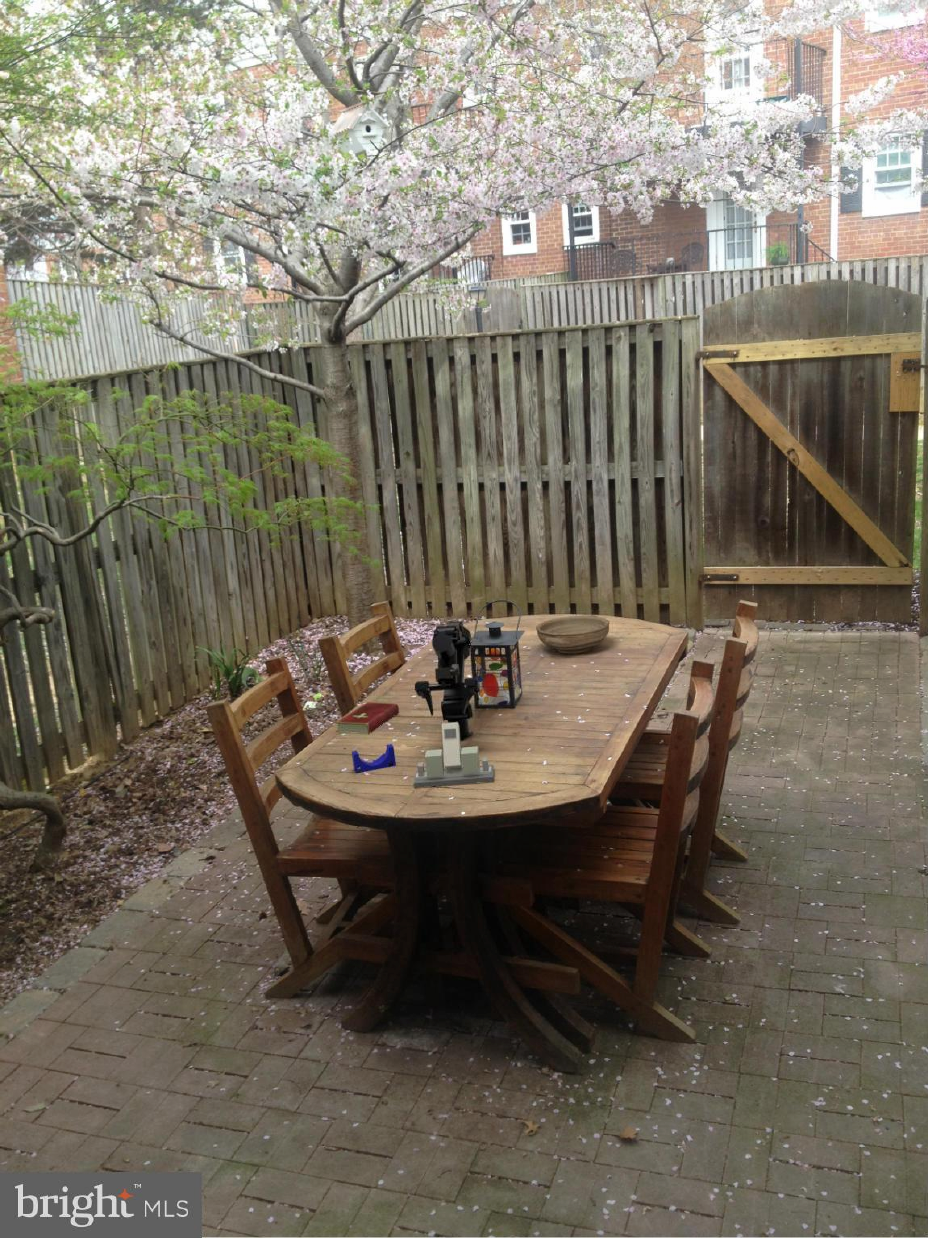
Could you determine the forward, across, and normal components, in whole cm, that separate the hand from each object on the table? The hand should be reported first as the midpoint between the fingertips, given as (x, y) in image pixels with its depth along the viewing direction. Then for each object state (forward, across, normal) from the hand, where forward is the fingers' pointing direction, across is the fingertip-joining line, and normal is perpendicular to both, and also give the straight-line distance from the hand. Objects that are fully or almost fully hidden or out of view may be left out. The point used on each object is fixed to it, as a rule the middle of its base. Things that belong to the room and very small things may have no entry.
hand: (447, 714), depth 311 cm
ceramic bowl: (-59, +35, +98) cm, 119 cm away
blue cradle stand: (+13, -23, +6) cm, 27 cm away
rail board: (+21, +3, -4) cm, 21 cm away
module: (+18, +3, -7) cm, 19 cm away
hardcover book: (-12, -32, +38) cm, 52 cm away
